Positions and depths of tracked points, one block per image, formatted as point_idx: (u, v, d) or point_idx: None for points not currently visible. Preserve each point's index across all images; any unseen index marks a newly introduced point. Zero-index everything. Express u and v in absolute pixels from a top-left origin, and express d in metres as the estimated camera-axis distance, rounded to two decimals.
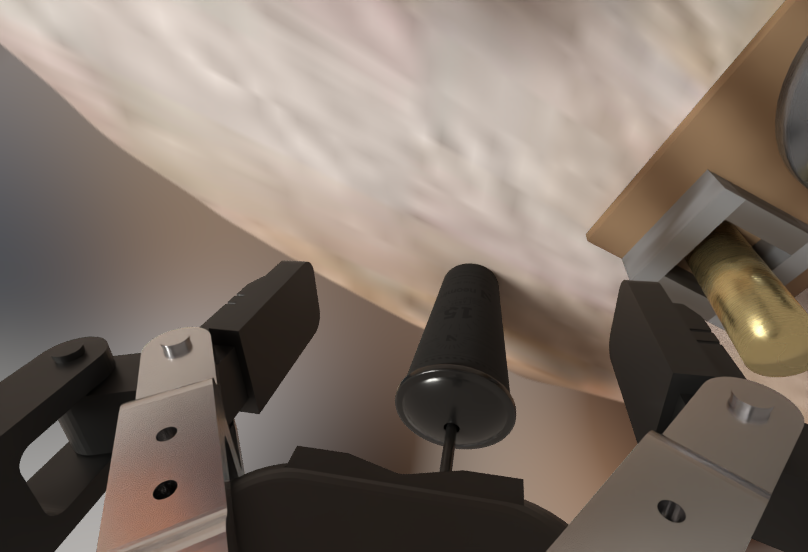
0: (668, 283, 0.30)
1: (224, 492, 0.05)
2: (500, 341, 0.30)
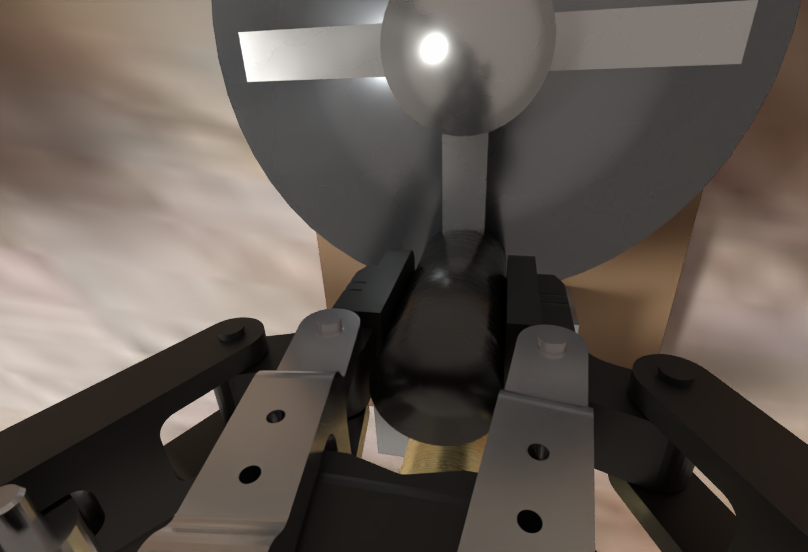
0: None
1: (292, 503, 0.05)
2: None
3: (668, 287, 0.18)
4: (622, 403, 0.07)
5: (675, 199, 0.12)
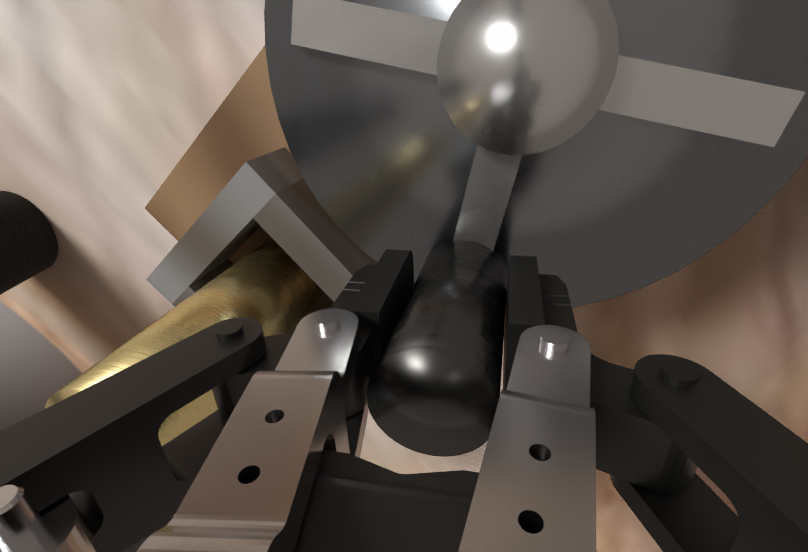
0: None
1: (291, 503, 0.05)
2: None
3: None
4: (625, 404, 0.07)
5: (679, 257, 0.12)
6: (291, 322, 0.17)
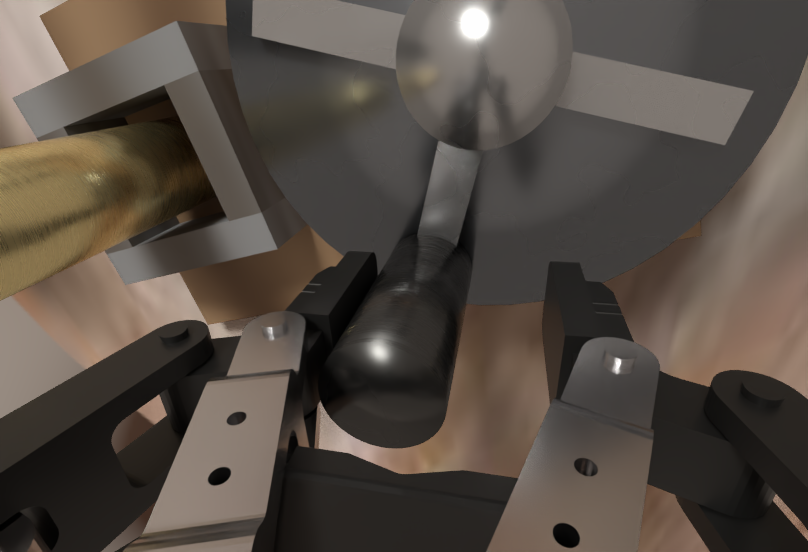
0: None
1: (268, 495, 0.05)
2: None
3: None
4: (701, 423, 0.07)
5: (638, 253, 0.12)
6: (168, 211, 0.16)
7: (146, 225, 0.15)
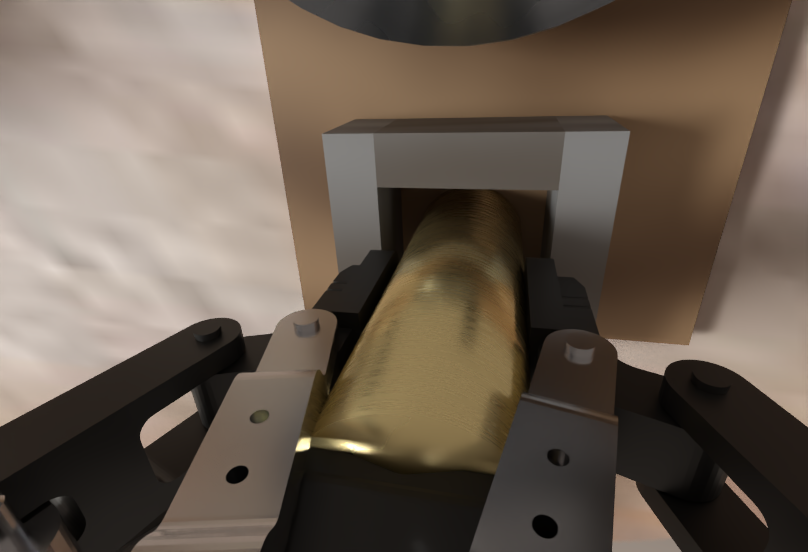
0: None
1: (282, 499, 0.05)
2: None
3: (748, 105, 0.12)
4: (654, 410, 0.07)
5: None
6: (513, 252, 0.12)
7: (518, 276, 0.11)
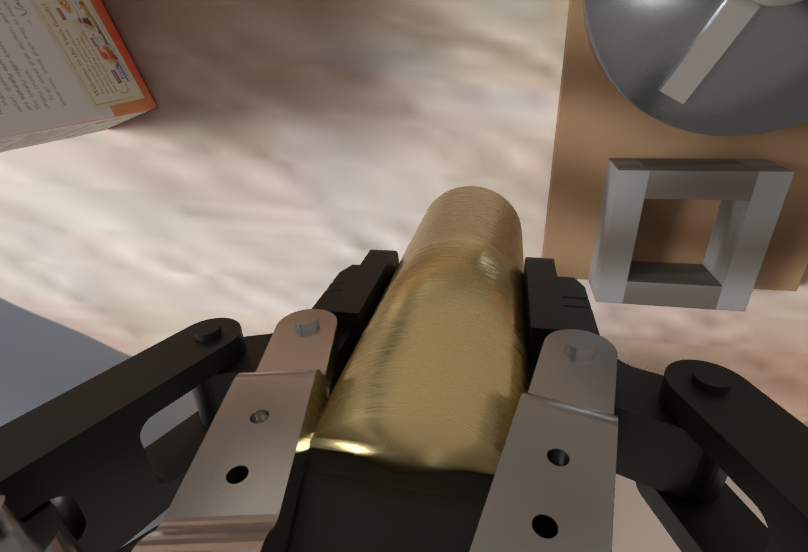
0: (637, 287, 0.26)
1: (282, 499, 0.05)
2: None
3: None
4: (654, 410, 0.07)
5: None
6: (513, 254, 0.12)
7: (518, 277, 0.11)
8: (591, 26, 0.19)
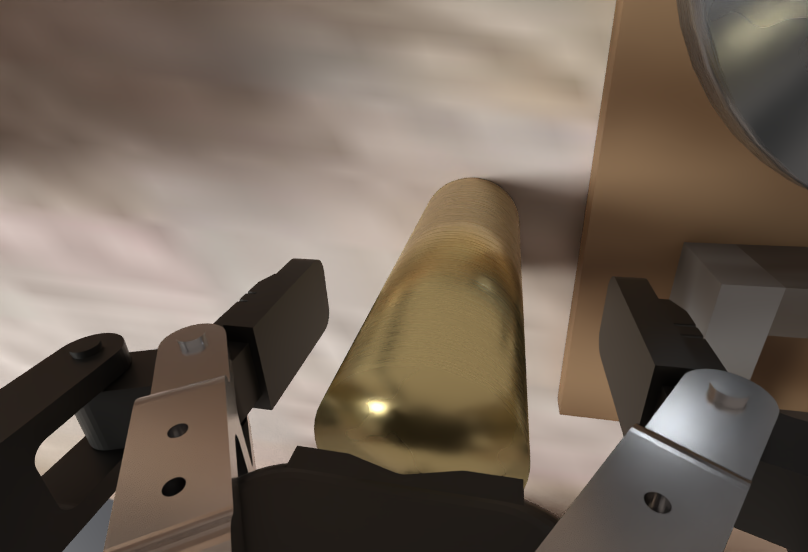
0: None
1: (231, 492, 0.05)
2: None
3: None
4: None
5: None
6: (509, 238, 0.13)
7: (514, 259, 0.12)
8: None
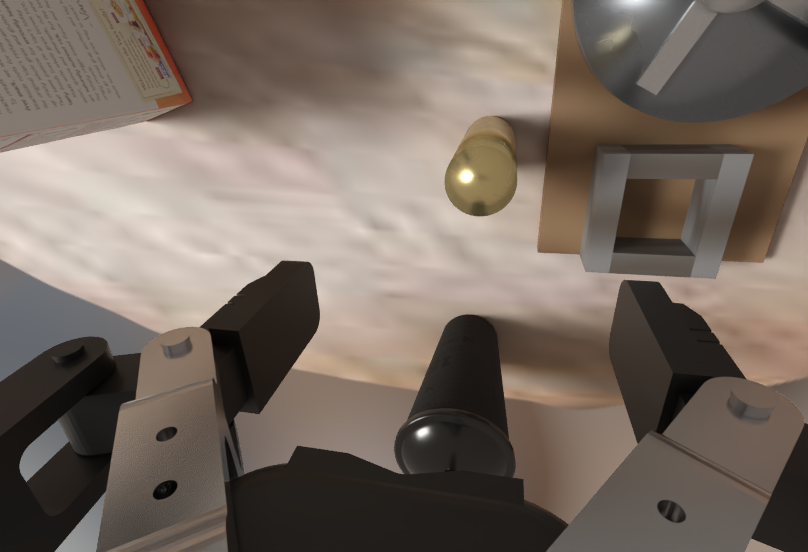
0: (622, 258, 0.29)
1: (224, 492, 0.05)
2: (484, 376, 0.31)
3: (800, 140, 0.27)
4: None
5: None
6: (510, 135, 0.28)
7: (512, 142, 0.27)
8: (578, 29, 0.23)
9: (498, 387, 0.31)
